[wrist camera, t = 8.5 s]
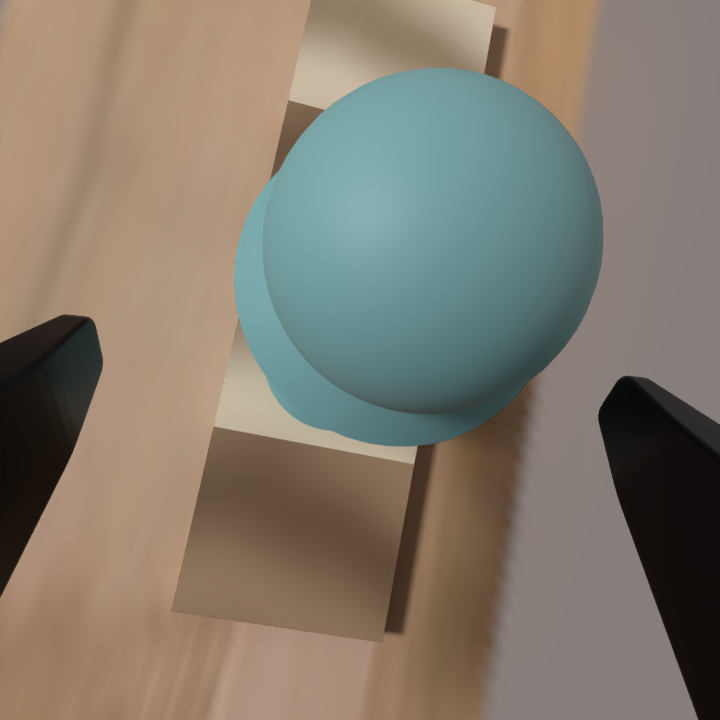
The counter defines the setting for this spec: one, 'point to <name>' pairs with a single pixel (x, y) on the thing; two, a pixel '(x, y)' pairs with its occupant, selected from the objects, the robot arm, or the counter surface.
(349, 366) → the pawn
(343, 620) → the board
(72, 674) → the counter surface
